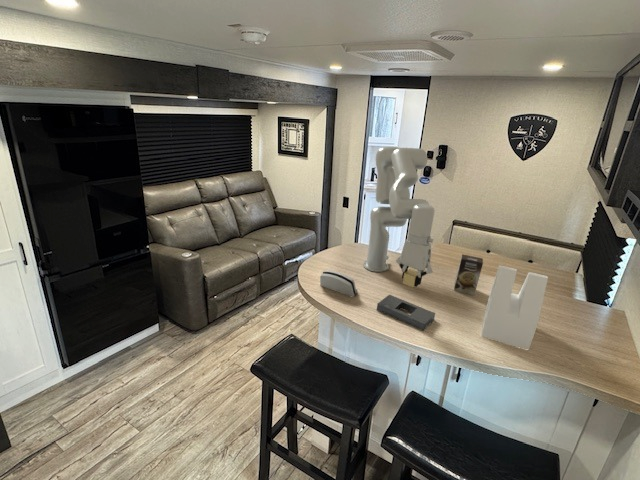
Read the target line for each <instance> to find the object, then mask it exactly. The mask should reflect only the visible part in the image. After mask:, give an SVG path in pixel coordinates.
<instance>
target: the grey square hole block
mask: <svg viewBox="0 0 640 480" xmlns="http://www.w3.org/2000/svg"><path fill="white" fill-rule="evenodd" d="M401 309H402V310H404V311H407V312H408V313H406V312H404V311H402V310H401ZM376 311H377V312H380V313H382V314H385V315H386V316H388V317H392V318H393V319H396V320H397V321H400V322H402V323H405V324H407V325H409V326H411V327H414V328H416V329H418V330H420V331H423V332H424V331H425V330H426V329H427V328H428V327H429V326H430V325H431V324H432V323H433V321H434V320H435V317H436V312H434V311H431V310H429V309H426V308H423V307H422V306H419V305H416V304H415V303H412V302H409V301H406V300H404V299H402V298H399V297H397V296H395V295H392V294H388V295H387V296H385V298H383V299H381V300H380V301H379V302H377V305H376ZM409 313H411V314H409Z"/></svg>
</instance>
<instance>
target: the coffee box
mask: <svg viewBox="0 0 640 480" xmlns="http://www.w3.org/2000/svg"><path fill="white" fill-rule="evenodd" d="M483 265H484V259H483V258H482V257H476V256H473V255H468V254H463V253H462V254H461V257H460V260H459V265H458V267H457V273H456V277H455V281H454V285H453V291H456V292H460V293H464V294H469V295H473V296H474V295H475V294H476V291H477V287H478V284H479V279H480V277H481V272H482V268H483Z"/></svg>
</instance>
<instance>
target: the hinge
mask: <svg viewBox="0 0 640 480" xmlns="http://www.w3.org/2000/svg"><path fill="white" fill-rule="evenodd" d="M319 278H320V279H319V282H320V284H319V285H320V286H321V287H324V288H326V289H329V290H332V291H333V292H334V291H335V292H338V293H340V294H342V295H346V296H348V297H351V298H353V297H354V296H355V294H358V288H357V287H356V284H355V280H354V278H351V277H349V276H348V275H345V274H343V273H342V272H338V271H335V270H330V269H329V270H328V269H326V270H324V271H322V273H321V274H320V276H319Z"/></svg>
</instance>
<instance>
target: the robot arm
mask: <svg viewBox="0 0 640 480" xmlns="http://www.w3.org/2000/svg"><path fill="white" fill-rule="evenodd" d="M427 163H428V155H427V152H426V150H424V149H422V148H418V147H417V148H415V147H399V146H398V147H397V146H395V147H394V146H383V147H380V148H378V149H377V151H376V153H375V167H376V170H377V171H376V172H377V180H376V189H375V201H376V202H377V203H378V204H379V205H389V206H375V207H374V208H372V209H371V211H370V214H369V215H370V218H369V219H370V230H369V240H368V247H367V256H366V260H364V262H363V264H362V266H363V268H364V269H366V270H368V271H370V272H375V273H383V272H384V273H385V272H386V271H388V269H389V265H388V263H387V260H388V259H389V258H390V257H389V255H388V249H389V244H390V243H389V241H390V233H389V231H388V230H387V229H386V228H388V227H390V228H391V227H392V228H393V227H395V228H396V227H397V228H398V227H404V226H405V224H406V223H407V220H410V222H409V228H408V234H407V238H406V239H405V241H404V244H403V247H402V250H401V255H400V256H399V257H397V259H396V260H395V262H396V263H397V264H398V265H399V268H400V269H401V272H402V275H401V279H402V283H403V278H404V273H405V272H406V271H407V270H409V268H412V269H413V270H414V269H415V270H416V271H417V272H418V276H417V277H416V282H415V287H416V288H417V287H418V286H419V285H421V284H422V279H423V277H424V276H426V275H429V274H430V275H431V274H432V273H433V272H434V270H433V268H432V266H431V259H432V257H431V255H432V243H433V242H434V239H433V238H431V233H432V226H433V222H434V216H435V208H434V207H433V206H432V205H430V203H429V201H428V200H427V199H423V198H422V199H420V198H417V199H416V198H410V197H411V193H410V188H411V187H412V186H414V185H416V184H417V182H418V180H419V175H418V171H417V170H423V169H425V168H426V166H427ZM415 287H414V288H415Z"/></svg>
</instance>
